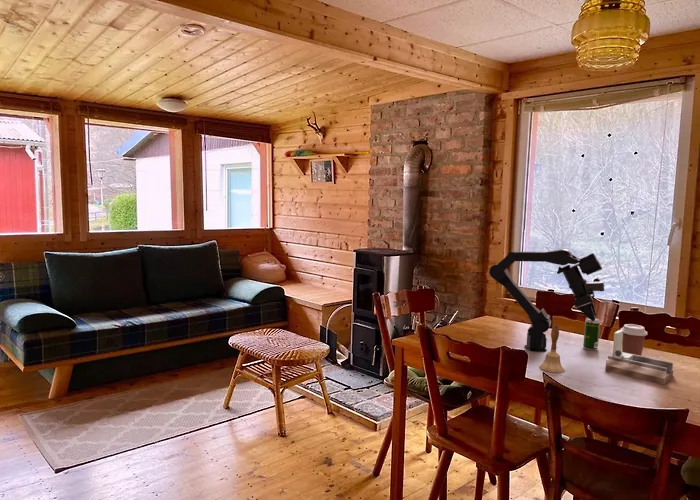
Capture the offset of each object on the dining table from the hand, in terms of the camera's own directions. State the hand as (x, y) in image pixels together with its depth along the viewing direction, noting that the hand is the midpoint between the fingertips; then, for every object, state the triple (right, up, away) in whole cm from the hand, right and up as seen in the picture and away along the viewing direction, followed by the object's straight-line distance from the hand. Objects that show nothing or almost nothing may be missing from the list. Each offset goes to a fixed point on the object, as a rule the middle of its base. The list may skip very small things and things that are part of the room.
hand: (594, 318), depth 194 cm
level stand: (+8, -17, -15) cm, 24 cm away
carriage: (+3, -14, -12) cm, 19 cm away
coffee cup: (+16, -15, +3) cm, 22 cm away
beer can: (+5, -14, +13) cm, 20 cm away
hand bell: (-21, -16, -13) cm, 29 cm away
